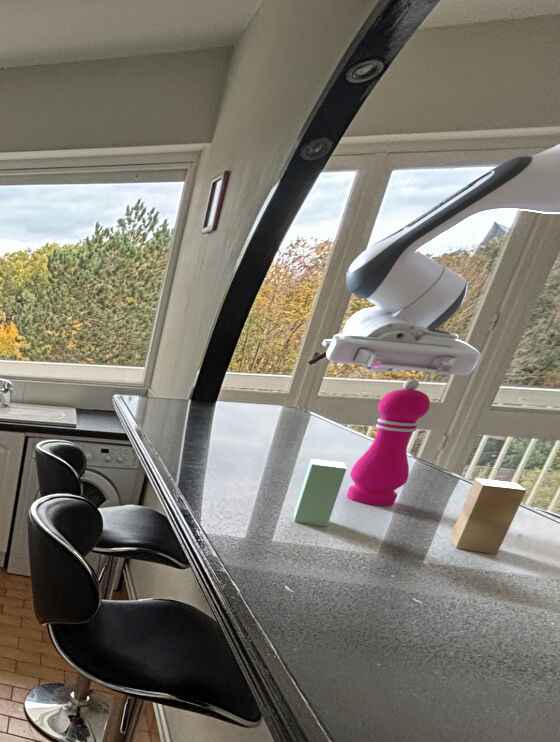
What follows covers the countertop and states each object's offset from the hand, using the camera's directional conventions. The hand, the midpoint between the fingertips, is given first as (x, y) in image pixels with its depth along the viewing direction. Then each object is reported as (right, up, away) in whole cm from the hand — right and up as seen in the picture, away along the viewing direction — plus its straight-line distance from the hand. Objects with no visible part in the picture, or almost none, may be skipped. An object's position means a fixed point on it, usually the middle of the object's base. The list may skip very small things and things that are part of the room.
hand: (411, 366), depth 97 cm
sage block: (-23, -26, -7) cm, 35 cm away
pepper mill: (-5, -22, +3) cm, 23 cm away
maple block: (-8, -30, -17) cm, 35 cm away
